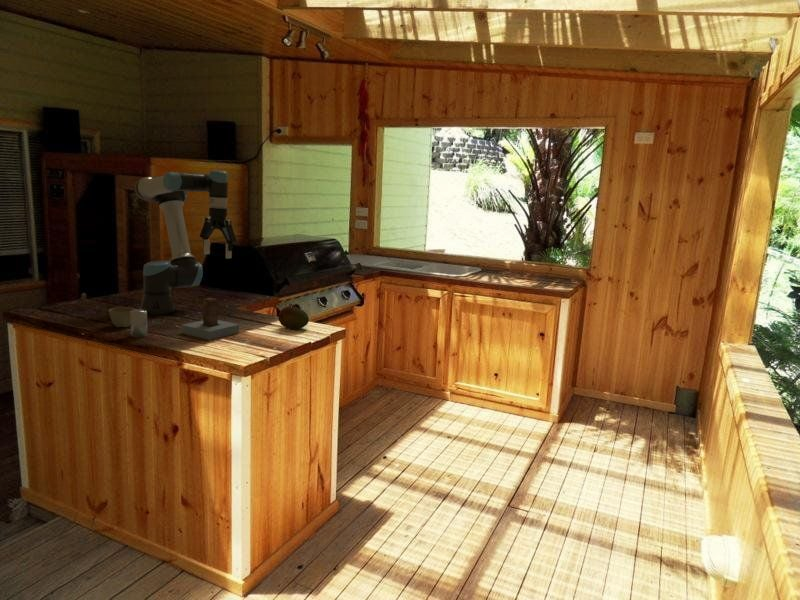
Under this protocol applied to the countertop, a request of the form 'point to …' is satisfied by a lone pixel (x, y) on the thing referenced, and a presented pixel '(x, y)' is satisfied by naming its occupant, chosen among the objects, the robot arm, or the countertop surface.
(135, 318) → the round bit
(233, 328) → the socket plate
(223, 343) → the countertop surface
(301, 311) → the fruit
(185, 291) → the countertop surface
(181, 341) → the countertop surface
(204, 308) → the wooden square peg
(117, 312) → the flower pot
